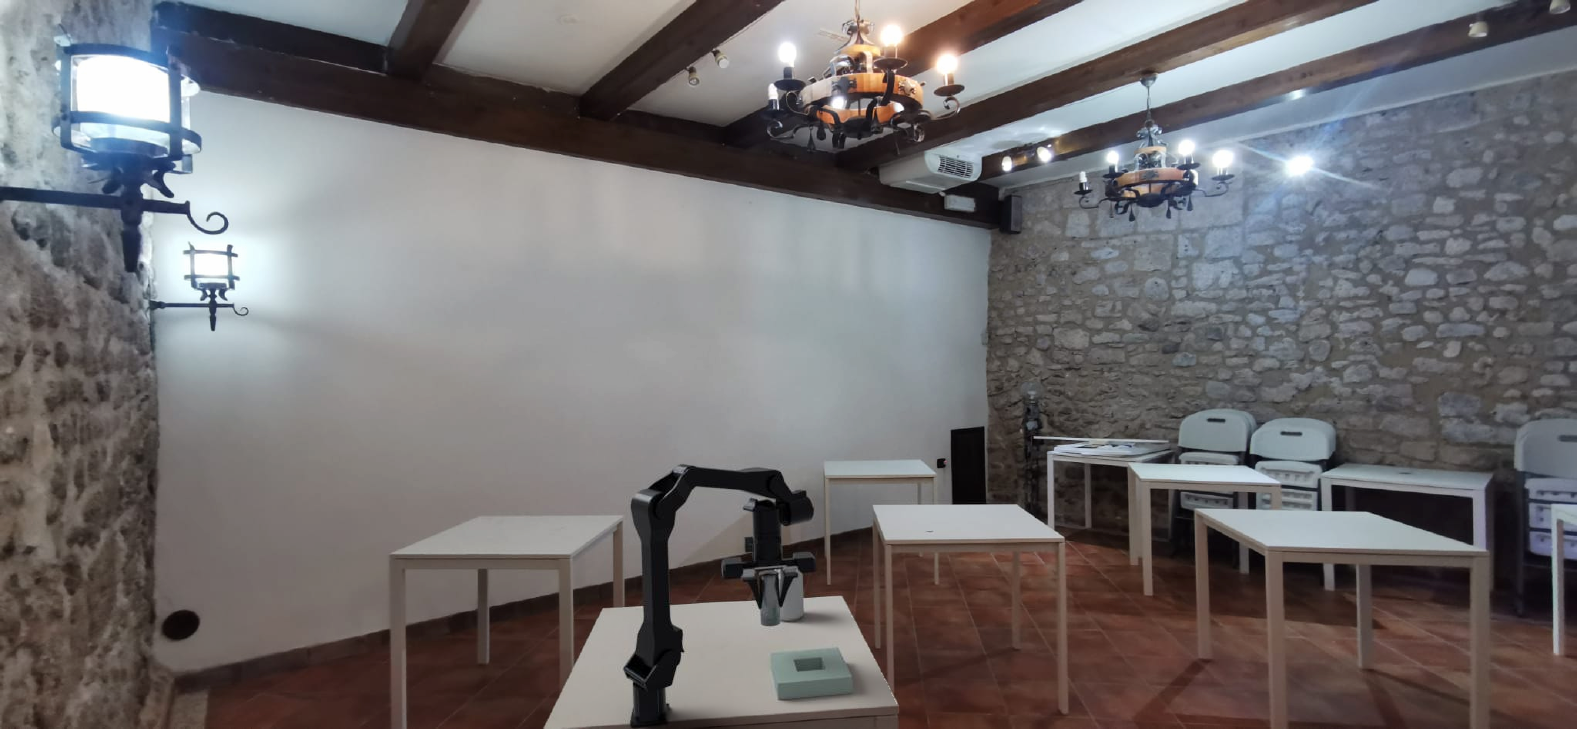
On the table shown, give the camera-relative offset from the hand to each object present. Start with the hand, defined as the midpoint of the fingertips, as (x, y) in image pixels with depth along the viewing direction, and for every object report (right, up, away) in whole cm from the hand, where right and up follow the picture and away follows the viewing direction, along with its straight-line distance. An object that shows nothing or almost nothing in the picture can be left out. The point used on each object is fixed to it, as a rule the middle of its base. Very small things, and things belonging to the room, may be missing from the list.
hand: (770, 607), depth 143 cm
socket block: (+8, -12, -5) cm, 15 cm away
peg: (0, -3, 0) cm, 3 cm away
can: (+4, -13, +30) cm, 33 cm away
